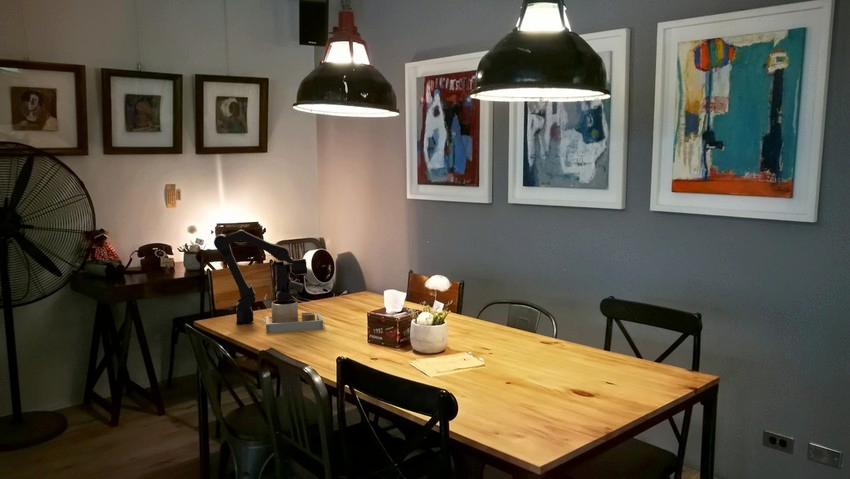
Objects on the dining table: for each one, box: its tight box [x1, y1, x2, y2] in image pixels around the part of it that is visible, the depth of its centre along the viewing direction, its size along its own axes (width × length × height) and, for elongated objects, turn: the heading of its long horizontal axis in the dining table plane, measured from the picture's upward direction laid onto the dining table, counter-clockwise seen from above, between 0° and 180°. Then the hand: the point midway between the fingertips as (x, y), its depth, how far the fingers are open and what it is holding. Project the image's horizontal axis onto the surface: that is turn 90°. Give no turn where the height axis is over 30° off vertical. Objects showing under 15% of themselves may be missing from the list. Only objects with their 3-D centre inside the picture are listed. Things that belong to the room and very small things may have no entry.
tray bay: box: [265, 312, 324, 334], centre depth 279 cm, size 22×14×4 cm, turn 104°
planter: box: [271, 298, 299, 323], centre depth 283 cm, size 11×11×10 cm
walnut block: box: [301, 311, 316, 321], centre depth 281 cm, size 5×5×5 cm
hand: (284, 311), depth 291 cm, fingers closed
